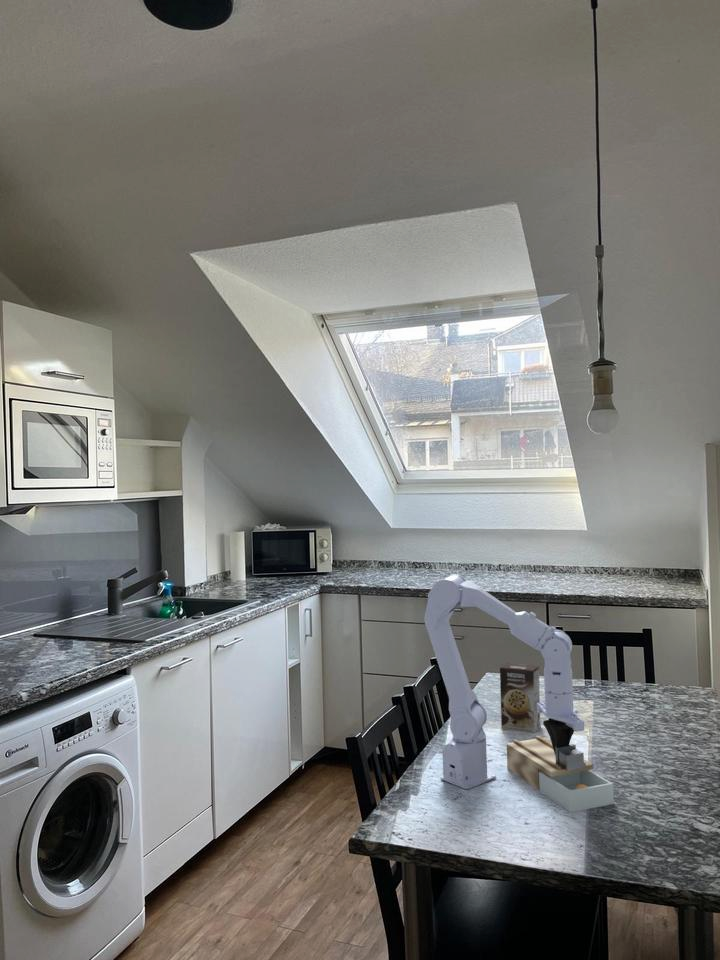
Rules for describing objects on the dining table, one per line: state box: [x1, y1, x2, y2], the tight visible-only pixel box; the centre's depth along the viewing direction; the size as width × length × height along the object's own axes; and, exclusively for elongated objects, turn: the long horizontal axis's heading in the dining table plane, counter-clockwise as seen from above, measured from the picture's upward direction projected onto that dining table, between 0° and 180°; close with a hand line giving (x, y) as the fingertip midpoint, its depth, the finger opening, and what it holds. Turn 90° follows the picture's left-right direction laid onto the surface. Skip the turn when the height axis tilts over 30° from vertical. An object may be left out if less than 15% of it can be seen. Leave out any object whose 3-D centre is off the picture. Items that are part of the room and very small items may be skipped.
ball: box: [575, 784, 587, 789], centre depth 149 cm, size 3×3×3 cm
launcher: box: [506, 735, 594, 791], centre depth 161 cm, size 18×10×6 cm, turn 18°
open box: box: [539, 770, 615, 813], centre depth 151 cm, size 11×10×4 cm
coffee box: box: [499, 662, 541, 734], centre depth 195 cm, size 9×6×16 cm
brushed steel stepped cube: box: [555, 743, 585, 771], centre depth 153 cm, size 4×4×4 cm
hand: (560, 755), depth 156 cm, fingers closed
